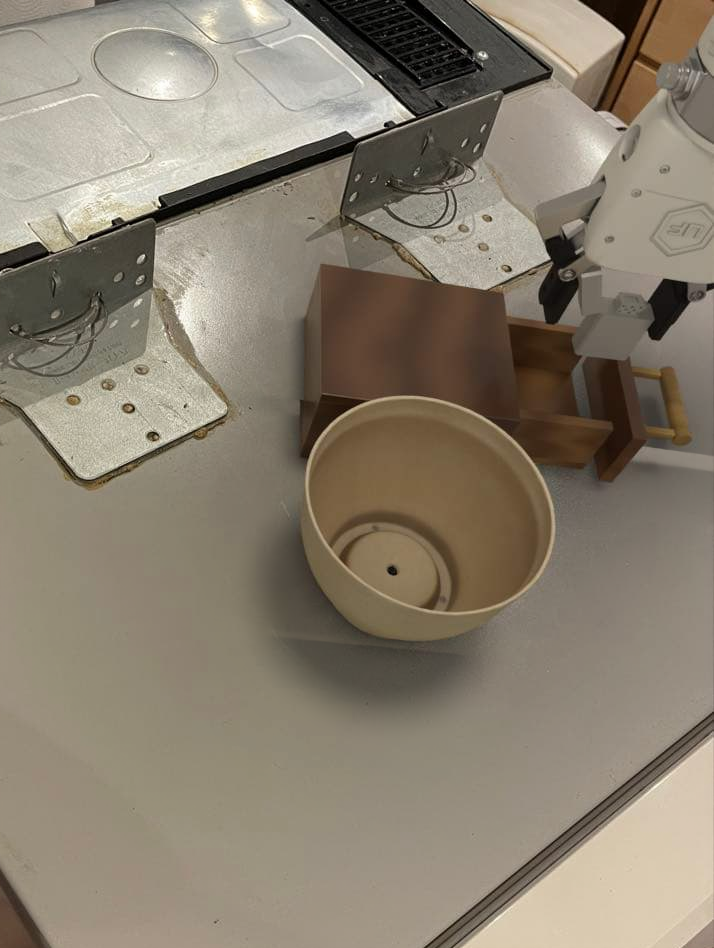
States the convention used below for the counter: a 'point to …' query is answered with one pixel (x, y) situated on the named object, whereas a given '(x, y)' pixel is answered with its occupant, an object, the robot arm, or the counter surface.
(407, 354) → the cabinet
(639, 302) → the lighter
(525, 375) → the drawer
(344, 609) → the planter bowl
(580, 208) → the robot arm
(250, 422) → the counter surface
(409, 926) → the counter surface
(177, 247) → the counter surface
